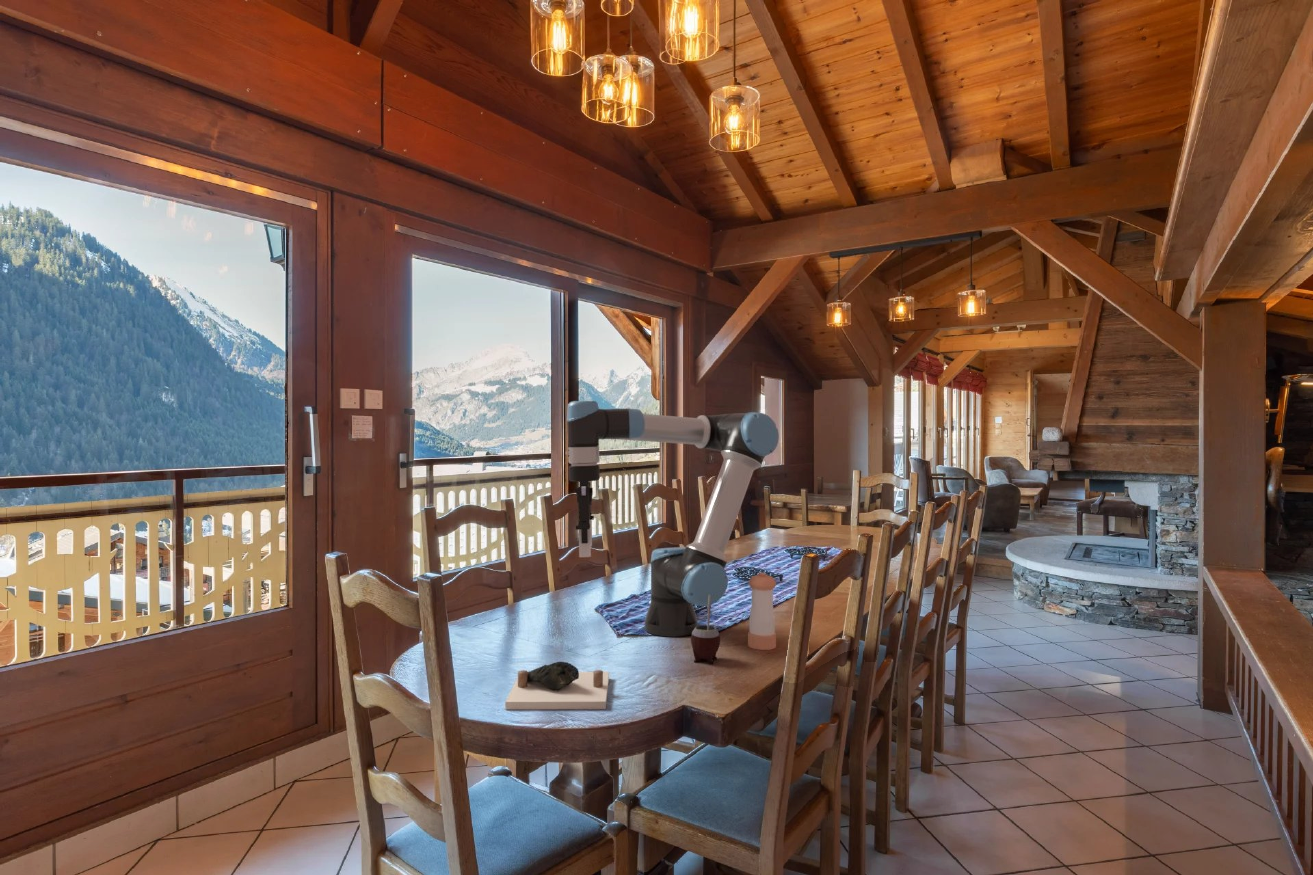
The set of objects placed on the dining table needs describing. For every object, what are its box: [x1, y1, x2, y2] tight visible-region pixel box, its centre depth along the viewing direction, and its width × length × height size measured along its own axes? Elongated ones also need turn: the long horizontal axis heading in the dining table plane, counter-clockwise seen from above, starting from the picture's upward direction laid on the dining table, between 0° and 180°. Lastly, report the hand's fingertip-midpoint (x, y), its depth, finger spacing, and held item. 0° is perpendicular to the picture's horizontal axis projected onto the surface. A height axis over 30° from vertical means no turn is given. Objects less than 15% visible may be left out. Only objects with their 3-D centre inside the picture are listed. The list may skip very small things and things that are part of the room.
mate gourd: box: [690, 594, 721, 666], centre depth 167 cm, size 8×8×15 cm
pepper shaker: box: [747, 572, 777, 651], centre depth 178 cm, size 7×7×19 cm
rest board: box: [504, 669, 610, 710], centre depth 145 cm, size 20×17×4 cm
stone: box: [527, 661, 580, 691], centre depth 145 cm, size 7×13×5 cm, turn 66°
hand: (585, 551), depth 166 cm, fingers open, 13 cm apart
